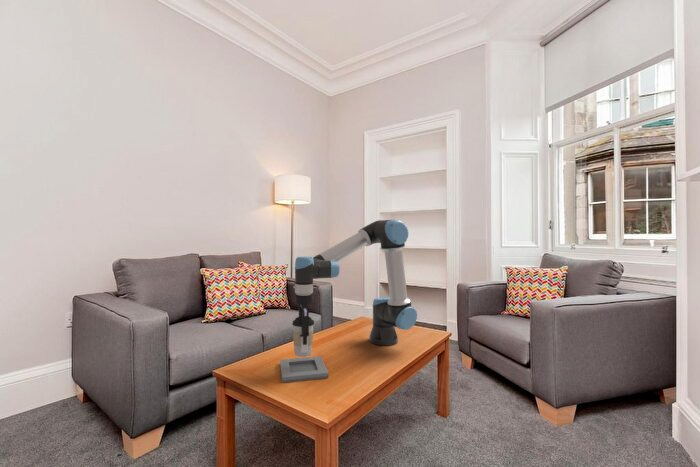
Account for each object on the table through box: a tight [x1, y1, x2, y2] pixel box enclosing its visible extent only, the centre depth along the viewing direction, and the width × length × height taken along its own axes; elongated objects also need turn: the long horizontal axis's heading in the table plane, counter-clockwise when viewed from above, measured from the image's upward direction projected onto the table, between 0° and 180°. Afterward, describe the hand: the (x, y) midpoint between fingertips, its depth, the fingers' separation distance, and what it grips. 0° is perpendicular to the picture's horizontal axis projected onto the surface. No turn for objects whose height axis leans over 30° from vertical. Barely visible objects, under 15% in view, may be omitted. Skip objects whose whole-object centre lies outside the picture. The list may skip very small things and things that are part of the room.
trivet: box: [279, 355, 329, 383], centre depth 138 cm, size 18×18×2 cm
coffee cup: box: [292, 316, 315, 358], centre depth 138 cm, size 9×9×15 cm
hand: (303, 347), depth 138 cm, fingers closed on coffee cup, 8 cm apart
